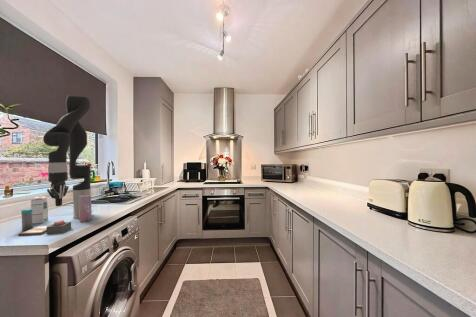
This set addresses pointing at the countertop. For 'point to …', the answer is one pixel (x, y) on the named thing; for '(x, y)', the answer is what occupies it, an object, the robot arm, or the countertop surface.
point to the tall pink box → (85, 208)
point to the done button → (58, 223)
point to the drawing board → (34, 231)
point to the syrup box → (39, 209)
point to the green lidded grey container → (26, 219)
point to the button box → (58, 228)
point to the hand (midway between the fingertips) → (58, 205)
